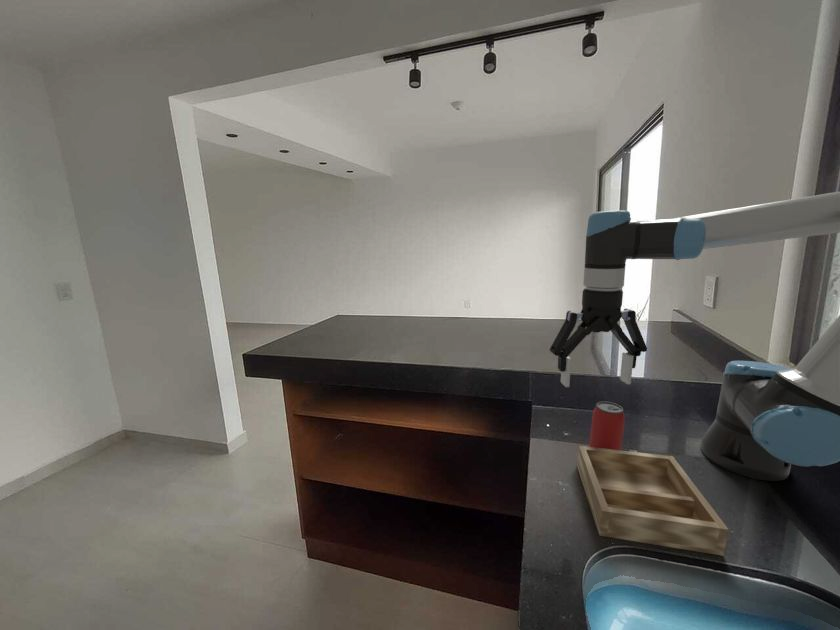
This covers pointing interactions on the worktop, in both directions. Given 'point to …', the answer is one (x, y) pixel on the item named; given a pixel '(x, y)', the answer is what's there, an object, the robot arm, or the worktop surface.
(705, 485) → the worktop surface
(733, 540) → the worktop surface
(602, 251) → the robot arm
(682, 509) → the crate
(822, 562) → the worktop surface
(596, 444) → the beer can
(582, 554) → the worktop surface
